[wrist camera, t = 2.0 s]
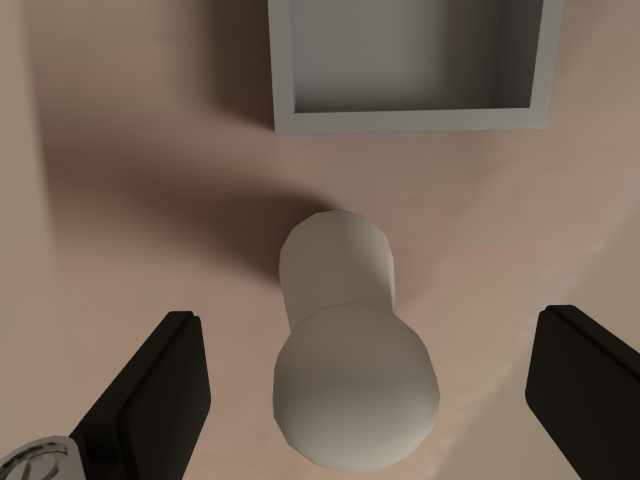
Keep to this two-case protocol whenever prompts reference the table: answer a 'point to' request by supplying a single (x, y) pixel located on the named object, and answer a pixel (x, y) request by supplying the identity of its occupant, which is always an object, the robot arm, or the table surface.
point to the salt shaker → (348, 350)
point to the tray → (412, 64)
